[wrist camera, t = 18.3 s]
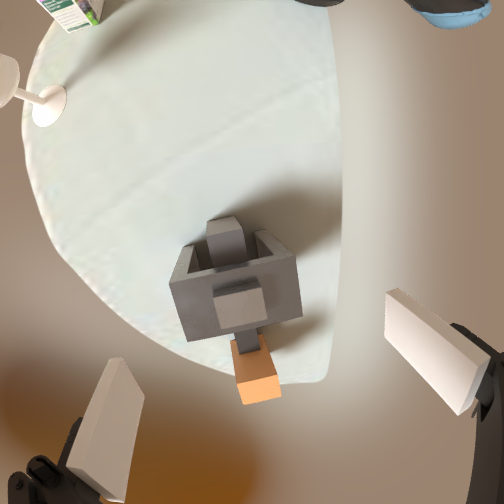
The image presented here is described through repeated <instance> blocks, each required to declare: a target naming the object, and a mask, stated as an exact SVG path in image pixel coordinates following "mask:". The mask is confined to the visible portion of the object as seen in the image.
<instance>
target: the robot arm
mask: <svg viewBox="0 0 504 504" xmlns="http://www.w3.org/2000/svg"><path fill="white" fill-rule="evenodd" d="M295 1H298V2H301V3H304V4H308V5H313V6H333V5H337V4H340V3H341V2H343V1H344V0H295ZM404 1H406V2H407V3H408V4H409V5H410V6H411V8H412V9H413V10H414V11H416V12H418V13H420V14H421V15H422V16H423V17H424V18H425V19H426V20H427V21H428V22H430V23H431V24H432V25H434V26H436V27H439V28H441V29H449V30H450V29H459V28H464V27H468V26H471V25H473V24H475V23H478V22H479V21H480V19H482V18H485V17H487V16H488V15H489V14H490V12H491V10H492V5H491V2H490V0H404ZM384 336H385V338H386V339H387V340H388V341H389V342H390V343H391V344H392V345H393V346H394V347H395V348H396V349H397V350H398V351H399V352H400V353H401V354H402V356H403V357H404V358H405V359H406V360H407V361H408V362H409V363H410V364H411V365H412V366H413V367H414V368H415V369H416V370H417V371H418V372H419V374H420V375H421V376H422V377H423V378H424V379H425V380H426V381H427V382H428V383H429V384H430V385H431V386H432V388H433V389H434V390H435V391H436V392H437V393H438V394H439V395H440V396H441V397H442V398H443V400H444V401H445V402H446V403H447V404H448V405H449V406H450V407H451V408H452V410H453V411H455V413H456V414H457V415H459V414H461V413H462V412H464V411H465V410H466V409H467V408H469V407H470V406H471V404H472V402H473V400H474V398H475V397H476V398H477V399H478V400H479V401H478V403H477V405H476V407H475V409H474V411H473V413H472V418H473V417H474V416H475V414H476V412H477V426H476V427H477V428H476V442H475V453H474V462H473V469H472V476H471V482H470V487H469V493H468V497H467V501H466V504H504V352H502V353H501V354H500V353H498V352H497V351H496V350H494V349H493V348H492V347H491V346H489V345H488V344H487V343H485V342H484V341H483V340H481V339H480V338H479V337H478V338H477V336H476V335H475V334H473V333H471V332H470V331H469V330H468V329H466V328H465V327H464V326H461V325H458V324H455V323H452V324H450V325H449V324H448V323H446V322H445V321H444V320H442V319H441V318H439V317H438V316H437V315H435V314H434V313H433V312H431V311H430V310H428V309H427V308H426V307H424V306H423V305H421V304H420V303H419V302H417V301H416V300H414V299H413V298H411V297H410V296H409V295H407V294H406V293H404V292H403V291H401V290H400V289H399V288H397V289H393V290H391V291H388V292H386V310H385V334H384ZM144 397H145V396H144V394H143V393H142V391H141V389H140V388H139V386H138V384H137V383H136V381H135V379H134V377H133V376H132V374H131V372H130V370H129V369H128V367H127V365H126V363H125V361H124V359H123V357H118V358H111V359H109V361H108V363H107V365H106V367H105V369H104V372H103V374H102V376H101V378H100V380H99V383H98V385H97V387H96V390H95V392H94V394H93V396H92V399H91V401H90V403H89V406H88V408H87V410H86V413H85V415H84V417H79V418H78V419H77V421H76V422H75V423H74V424H73V425H72V428H71V430H70V433H69V436H68V438H67V440H66V441H67V443H65V445H64V448H63V451H62V453H61V456H60V459H59V461H58V464H57V466H56V465H55V464H54V463H53V462H52V461H51V460H50V459H48V458H47V457H46V456H43V455H38V456H35V457H33V458H32V459H31V460H30V461H29V463H28V465H27V468H26V472H27V474H28V475H29V476H30V477H31V478H32V479H30V478H29V477H28V476H27V475H26V474H24V473H23V472H15V473H13V474H12V475H11V476H10V478H9V480H8V504H103V503H102V502H101V501H100V500H99V498H100V495H101V496H103V497H104V498H106V499H107V500H108V501H114V502H122V503H124V502H125V495H126V489H127V482H128V476H129V470H130V465H131V459H132V454H133V449H134V443H135V439H136V434H137V429H138V424H139V419H140V415H141V411H142V406H143V402H144Z"/></svg>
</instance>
